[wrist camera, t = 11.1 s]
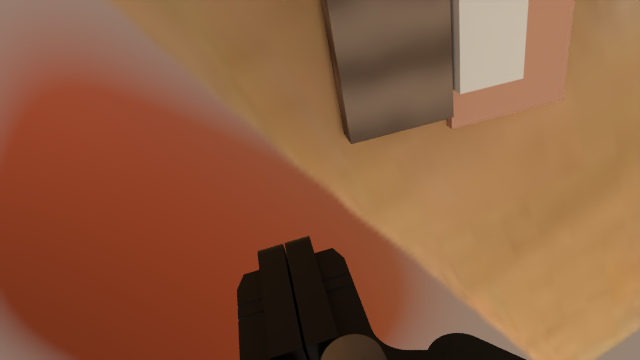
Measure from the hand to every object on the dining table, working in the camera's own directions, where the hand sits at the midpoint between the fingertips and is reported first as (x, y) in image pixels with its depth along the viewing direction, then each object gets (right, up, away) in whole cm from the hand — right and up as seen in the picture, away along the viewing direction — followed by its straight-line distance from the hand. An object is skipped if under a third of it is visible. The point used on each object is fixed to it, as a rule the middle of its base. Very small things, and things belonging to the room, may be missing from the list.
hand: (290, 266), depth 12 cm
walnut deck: (+7, +14, +26) cm, 30 cm away
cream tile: (+15, +16, +25) cm, 33 cm away
